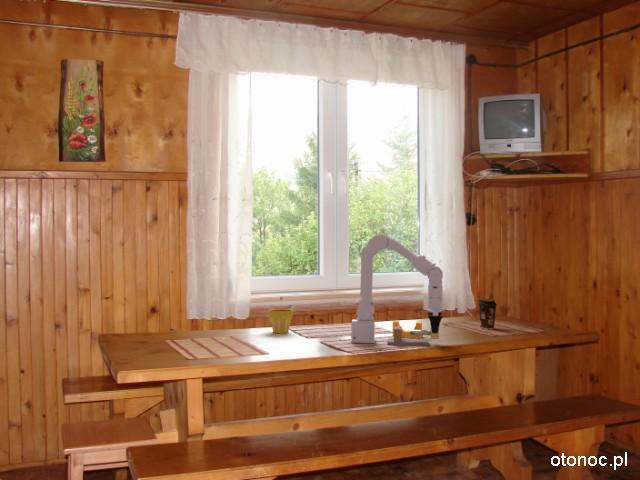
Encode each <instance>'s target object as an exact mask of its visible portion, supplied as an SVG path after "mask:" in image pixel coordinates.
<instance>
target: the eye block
mask: <svg viewBox="0 0 640 480" xmlns="http://www.w3.org/2000/svg"><path fill="white" fill-rule="evenodd" d="M402 327H403V326H401V325H400V326H394V336H393V338H387V342H386V343H387V346H412V345H413V347H414V346H417V347H418V346H419V347H420V346H421V347H423V346H425V347H429V345H430V343H429V339H428V338H427V339H423V338H403V337H402V329H403V328H402Z"/></svg>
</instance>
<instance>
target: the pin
mask: <svg viewBox="0 0 640 480" xmlns="http://www.w3.org/2000/svg"><path fill="white" fill-rule="evenodd" d="M409 331H410V335H423V336H430V339H431V340H439V338H440V337H439V335H440V333H439V331H440V329H439V330H438V333H432V329H431V328H430V330H429V329H428V330H426V329H423V330H413V329H410V330H409Z"/></svg>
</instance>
